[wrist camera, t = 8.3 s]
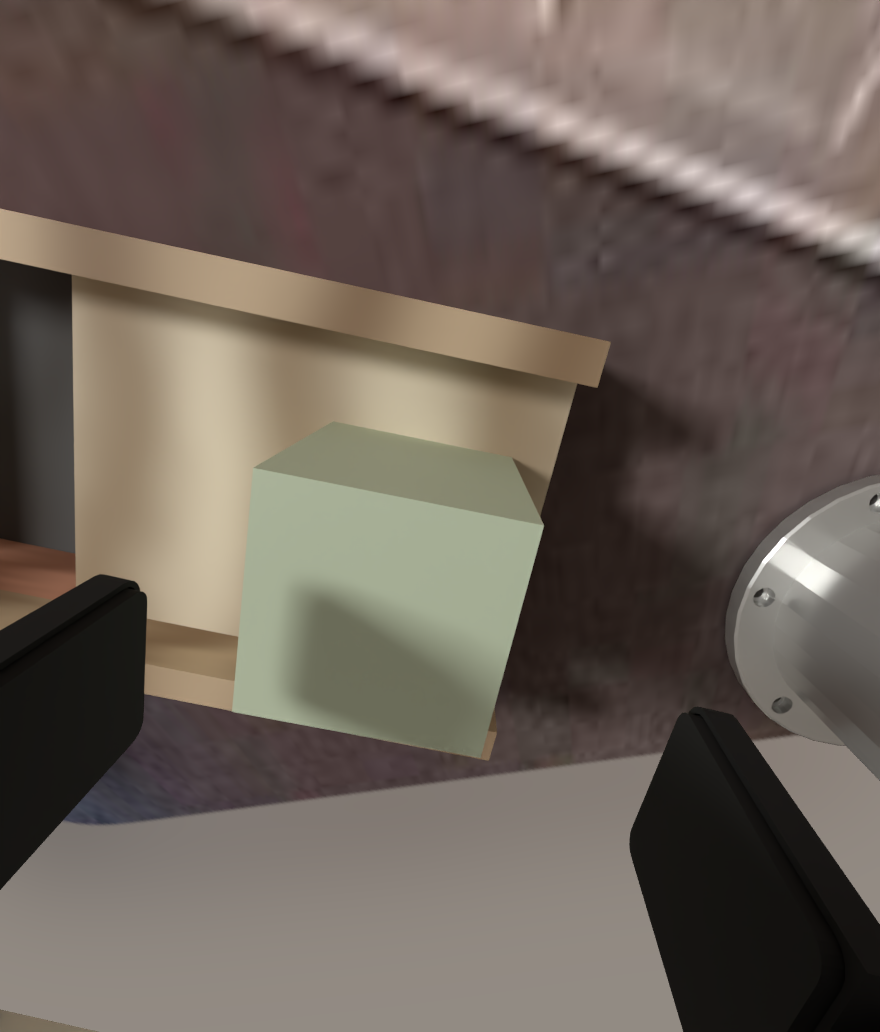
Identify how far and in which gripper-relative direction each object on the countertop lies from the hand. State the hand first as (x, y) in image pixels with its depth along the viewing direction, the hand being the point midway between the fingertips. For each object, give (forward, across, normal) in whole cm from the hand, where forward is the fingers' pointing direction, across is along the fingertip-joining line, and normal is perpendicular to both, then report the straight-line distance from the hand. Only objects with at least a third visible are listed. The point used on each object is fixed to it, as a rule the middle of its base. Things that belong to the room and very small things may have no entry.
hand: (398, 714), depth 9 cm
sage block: (+10, +1, 0) cm, 10 cm away
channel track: (+13, +10, 0) cm, 17 cm away
